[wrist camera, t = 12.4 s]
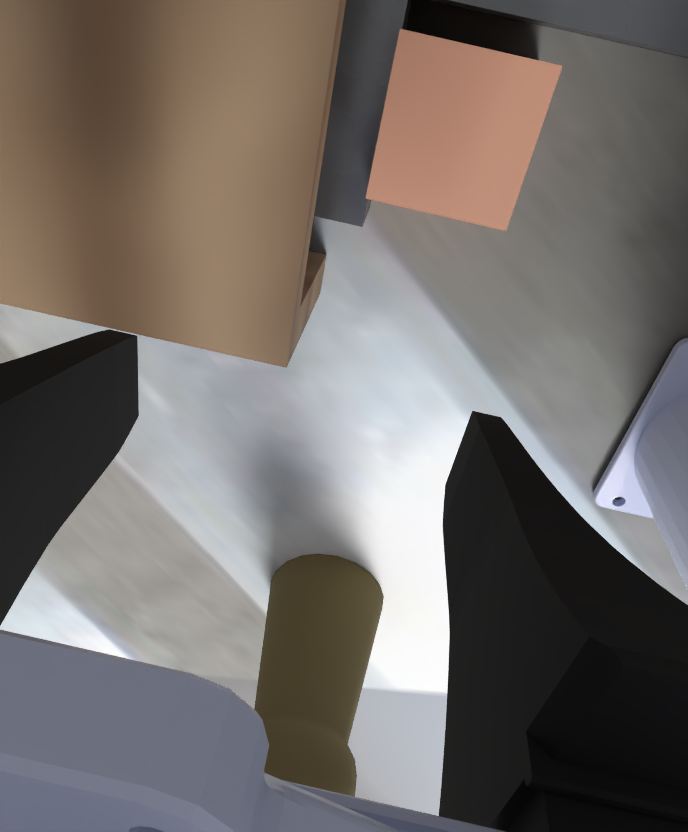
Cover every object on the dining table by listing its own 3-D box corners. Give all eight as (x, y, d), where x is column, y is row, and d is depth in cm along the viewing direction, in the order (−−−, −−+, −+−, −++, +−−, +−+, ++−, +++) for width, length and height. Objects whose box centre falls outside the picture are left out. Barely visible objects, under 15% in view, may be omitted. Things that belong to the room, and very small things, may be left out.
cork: (387, 634, 32) (369, 872, 23) (280, 630, 33) (222, 856, 24) (378, 555, 29) (353, 793, 20) (261, 553, 30) (185, 779, 21)
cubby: (399, -184, 15) (382, -298, 10) (320, 293, 22) (286, 367, 17) (55, -258, 15) (-135, -408, 10) (87, 241, 22) (-15, 300, 17)
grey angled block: (863, -24, 15) (1273, -84, 8) (697, 281, 20) (854, 425, 13) (362, -135, 15) (295, -299, 8) (313, 194, 20) (241, 286, 13)
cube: (538, 61, 17) (562, 66, 14) (494, 198, 20) (506, 230, 16) (406, 31, 17) (400, 29, 14) (377, 171, 20) (365, 198, 16)
